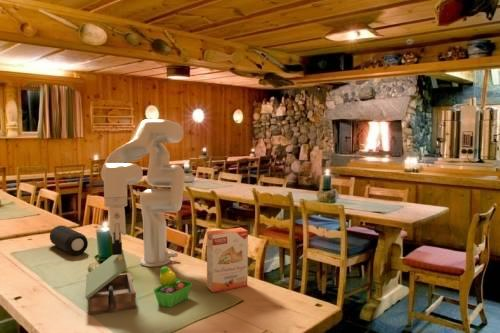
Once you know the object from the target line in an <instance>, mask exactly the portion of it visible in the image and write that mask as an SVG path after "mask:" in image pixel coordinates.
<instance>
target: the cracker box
mask: <svg viewBox="0 0 500 333" xmlns="http://www.w3.org/2000/svg"><path fill="white" fill-rule="evenodd" d="M248 251H249V230H247V229H245V228H243V227H236V228H226V229H218V230H209V231H206V287H207V289H208V290H210V291H211V292H212V293H215V292H216V293H217V292H221V291H227V290H232V289H238V288H243V287H247V286H248V273H249V272H248V271H249V270H248V267H249V266H248V265H249V262H248V261H249V260H248V257H249V256H248V255H249V252H248Z"/></svg>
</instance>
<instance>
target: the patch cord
mask: <svg viewBox="0 0 500 333" xmlns="http://www.w3.org/2000/svg"><path fill="white" fill-rule="evenodd" d="M108 287H109V301H110V309H111V310H113V309H114V308H115V305H114V295H113V285H112V284H109V286H108Z"/></svg>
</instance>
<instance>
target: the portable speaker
mask: <svg viewBox="0 0 500 333" xmlns="http://www.w3.org/2000/svg"><path fill="white" fill-rule="evenodd" d="M49 240H50V242H51V243H52V244H53V245H54V246H56V247H57V248H59V249H61V250H63V251H64V252H66V253H68V254H70V255H73V256H77V255H80V254H83V253H84V252H85V251H86V250H87V248H88V245H89V243H88V238H87V236H86V235H85V234H83V233H81V232H78V231H76V230H74V229H72V228H70V227H68V226H65V225H57V226H55V227H53V228H52V230H51V231H50V234H49Z"/></svg>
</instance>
